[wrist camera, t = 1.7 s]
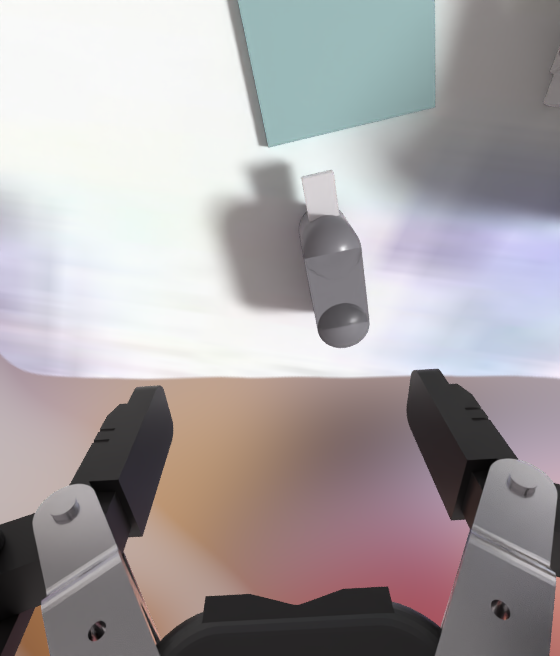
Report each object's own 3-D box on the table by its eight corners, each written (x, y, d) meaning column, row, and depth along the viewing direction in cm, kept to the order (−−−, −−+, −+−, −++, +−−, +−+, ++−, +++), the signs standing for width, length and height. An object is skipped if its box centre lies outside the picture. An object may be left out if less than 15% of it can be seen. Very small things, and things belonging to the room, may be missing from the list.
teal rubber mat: (430, -88, 22) (434, -93, 21) (432, 107, 27) (435, 107, 26) (231, -30, 23) (230, -33, 22) (268, 146, 28) (268, 147, 27)
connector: (339, 162, 28) (353, 174, 23) (357, 308, 35) (371, 342, 30) (287, 174, 29) (290, 188, 24) (315, 316, 35) (321, 351, 30)
